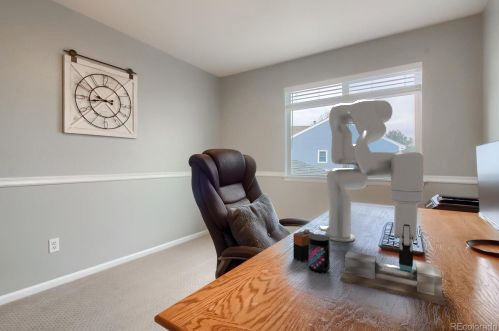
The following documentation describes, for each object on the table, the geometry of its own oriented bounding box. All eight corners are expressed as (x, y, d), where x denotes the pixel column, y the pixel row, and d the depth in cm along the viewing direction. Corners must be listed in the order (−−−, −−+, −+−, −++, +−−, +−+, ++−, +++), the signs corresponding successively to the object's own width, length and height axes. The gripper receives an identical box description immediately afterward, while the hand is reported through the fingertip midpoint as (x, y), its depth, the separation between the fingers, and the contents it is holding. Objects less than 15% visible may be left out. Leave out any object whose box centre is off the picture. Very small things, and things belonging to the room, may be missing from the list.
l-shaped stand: (365, 272, 72) (365, 238, 72) (366, 268, 74) (366, 235, 74) (430, 286, 64) (431, 248, 64) (429, 281, 66) (429, 245, 66)
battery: (314, 258, 87) (314, 230, 87) (302, 263, 83) (302, 233, 83) (305, 254, 91) (305, 227, 91) (292, 259, 87) (292, 231, 87)
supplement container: (304, 265, 81) (304, 234, 81) (323, 264, 82) (323, 233, 82) (313, 275, 74) (313, 241, 74) (333, 273, 76) (334, 239, 75)
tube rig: (340, 280, 71) (340, 259, 71) (347, 265, 81) (348, 247, 81) (445, 305, 59) (445, 280, 59) (438, 284, 69) (438, 263, 69)
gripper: (391, 192, 76) (390, 251, 77) (390, 199, 63) (389, 270, 63) (420, 194, 73) (419, 255, 73) (426, 202, 59) (425, 278, 59)
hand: (405, 262), depth 68 cm, fingers closed on l-shaped stand, 3 cm apart
